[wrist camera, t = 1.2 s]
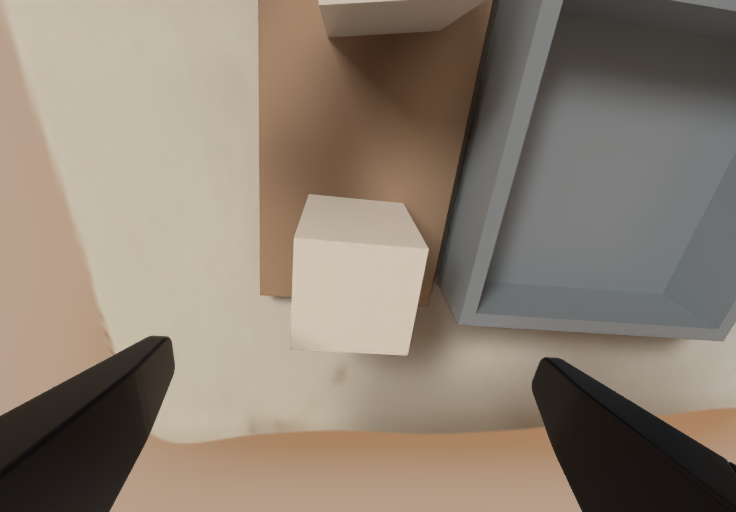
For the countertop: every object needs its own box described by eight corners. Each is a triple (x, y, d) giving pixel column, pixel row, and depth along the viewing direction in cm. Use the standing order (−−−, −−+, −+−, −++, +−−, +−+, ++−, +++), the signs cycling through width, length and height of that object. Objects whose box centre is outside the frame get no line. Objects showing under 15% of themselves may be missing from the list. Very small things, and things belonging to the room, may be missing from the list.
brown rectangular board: (510, -121, 12) (521, -135, 11) (424, 297, 18) (427, 306, 18) (262, -170, 11) (257, -189, 10) (263, 286, 17) (260, 295, 17)
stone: (403, 203, 15) (429, 248, 11) (390, 285, 17) (407, 355, 12) (309, 194, 15) (293, 237, 10) (304, 279, 16) (289, 349, 12)
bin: (792, 36, 14) (925, 18, 11) (658, 299, 19) (723, 341, 16) (501, -12, 13) (555, -48, 10) (437, 282, 18) (458, 324, 15)
